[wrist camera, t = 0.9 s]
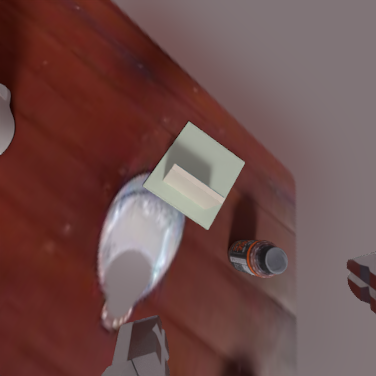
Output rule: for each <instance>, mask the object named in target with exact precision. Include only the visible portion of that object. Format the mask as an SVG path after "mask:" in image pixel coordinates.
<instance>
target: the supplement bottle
mask: <svg viewBox="0 0 376 376" xmlns="http://www.w3.org/2000/svg"><path fill="white" fill-rule="evenodd" d="M228 257H229V261H230V263H231V265H232V266H233V267H234V268H235V269H237V270H239V271H242V272H245V273H249V274H252V275H256V276H259V277H263V278H270V277H272V276H274V275H276V274H281V273H283V272H284V271H285V269H286V268H287V263H288V260H287V256H286V254H285V252H284V251H283V250H282V249H280V248H278V247H276V245H275V244H273V243H272V242H269V241H265V240H238V241H236V242H234V243H233V244H232V245H231V247H230V249H229V252H228Z"/></svg>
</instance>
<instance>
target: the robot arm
mask: <svg viewBox="0 0 376 376" xmlns="http://www.w3.org/2000/svg"><path fill="white" fill-rule="evenodd" d="M10 98H11V93H10V91H9V89H8V88H7V87H5V86H4V85H2V84H0V155H1V154H2V153H3V152H4V151H5V150H6V148H7V147H8V146H9V144H10V142H11V140H12V138H13V135H14V128H15V126H14V119H13V116H12V113H11V110H10V107H9V104H10ZM347 269H348V270H350V271H351V272H350V274H349V275H348V285H349V287H350V289H351V291H352V292H353V293H354V295H355V296H356V297H357V298H359V299H360V300H361V301H363V302H366V303H369V304H370V308H371V310H372V311H373V312H374V313H376V252H373V253H371V254H366V255H363V256H360V257H356V258H353V259H350V260H348V262H347ZM168 359H169V348H168V341H167V337H166V333H165V331H164V330H163V329H162V322H161V319H160V317H159V316H158V315H156V316H152V317H148V318H145V319H141V320H137V321H134V322H131V323H127V324H123V325H122V326H121V327H120V330H119V334H118V339H117V343H116V348H115V353H114V357H113V362H112V366H109V367H107V369H106V370H105V371H104V373H103V374H102V375H101V376H170V373H169V367H168V364H167V360H168Z"/></svg>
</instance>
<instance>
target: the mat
mask: <svg viewBox="0 0 376 376" xmlns="http://www.w3.org/2000/svg"><path fill="white" fill-rule="evenodd" d="M174 164H178V165H179V166H180V167H182V168H183V169H185V170H186V171H188V172H189V173H190V174H192V175H193V176H195V177H196V178H198V179H199V180H200V181H202V182H203V183H205V184H206V185H208V186H209V187H210V188H212V189H213V190H215V191H216V192H218V193H219V194H220V195H222V196H223V197H224V198H226V196H227V195H228V193H229V191H230V189H231V187H232V186H233V184H234V182H235V180H236V178H237V176H238V175H239V173H240V171H241V169H242V167H243V166H244V164H245V162H244V161H242V160H241V159H240V158H238V157H237V156H236V155H234V154H233V153H231V152H230V151H229V150H227V149H226V148H225V147H223V146H222V145H221V144H219V143H218V142H216V141H215V140H214V139H212V138H211V137H210V136H208V135H207V134H206V133H204V132H203V131H201V130H200V129H199V128H197V127H196V126H195V125H193V124H192V123H191V122H188V123H187V125H186V126H185V128H184V129H183V130H182V132H181V133H180V134H179V136H178V137H177V139H176V140H175V141H174V143H173V144H172V146H171V147H170V148H169V150H168V151H167V153H166V154H165V155H164V157H163V158H162V160H161V161H160V162H159V164H158V165H157V167H156V168H155V169H154V171H153V172H152V173H151V175H150V176H149V178H148V179H147V180H146V182H145V183H144V185H143V187H144V188H146V189H147V190H149V191H150V192H152V193H153V194H155V195H156V196H158V197H159V198H161V199H162V200H164V201H165V202H167V203H168V204H170V205H171V206H173V207H174V208H176V209H177V210H179V211H180V212H182V213H183V214H185V215H186V216H188V217H189V218H191V219H192V220H193V221H195V222H196V223H198V224H199V225H201V226H202V227H204V228H205V229H207V230H208V229H209V227H210V225H211V224H212V222H213V220H214V218H215V216H216V215H217V213H218V211H219V209H220V207H221V205H222V204H223V203H222V204H220V205H217V206H214V207H211V208H208V209H204V208H202V207H201V206H199V205H198V204H196V203H195V202H193V201H192V200H190V199H189V198H187V197H186V196H185V195H183V194H182V193H180V192H179V191H177V190H176V189H174V188H173V187H171V186H170V185H168V184H167V183H166V182H164V181H163V179H164V178H165V177H166V175H167V174H168V172H169V171H170V170H171V168H172V167H173V165H174Z"/></svg>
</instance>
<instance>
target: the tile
mask: <svg viewBox="0 0 376 376" xmlns="http://www.w3.org/2000/svg"><path fill="white" fill-rule="evenodd" d="M163 181H164V182H166V183H167V184H168V185H170V186H171V187H173V188H174V189H176V190H177V191H179V192H180V193H182V194H183V195H185V196H186V197H187V198H189V199H190V200H192V201H193V202H195V203H196V204H198V205H199V206H201V207H202V208H204V209H208V208H211V207H214V206H217V205H220V204H222V203H223V202H224V200H225V198H224V197H223V196H222V195H220V194H219V193H218V192H216V191H215V190H213V189H212V188H210V187H209V186H208V185H206V184H205V183H203V182H202V181H200V180H199V179H198V178H196V177H195V176H193V175H192V174H190V173H189V172H188V171H186V170H185V169H183V168H182V167H180V166H179V165H178V164H174V165H173V167H172V168H171V170H170V171H169V172H168V174H167V175H166V177H165V178H164V179H163Z"/></svg>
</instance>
